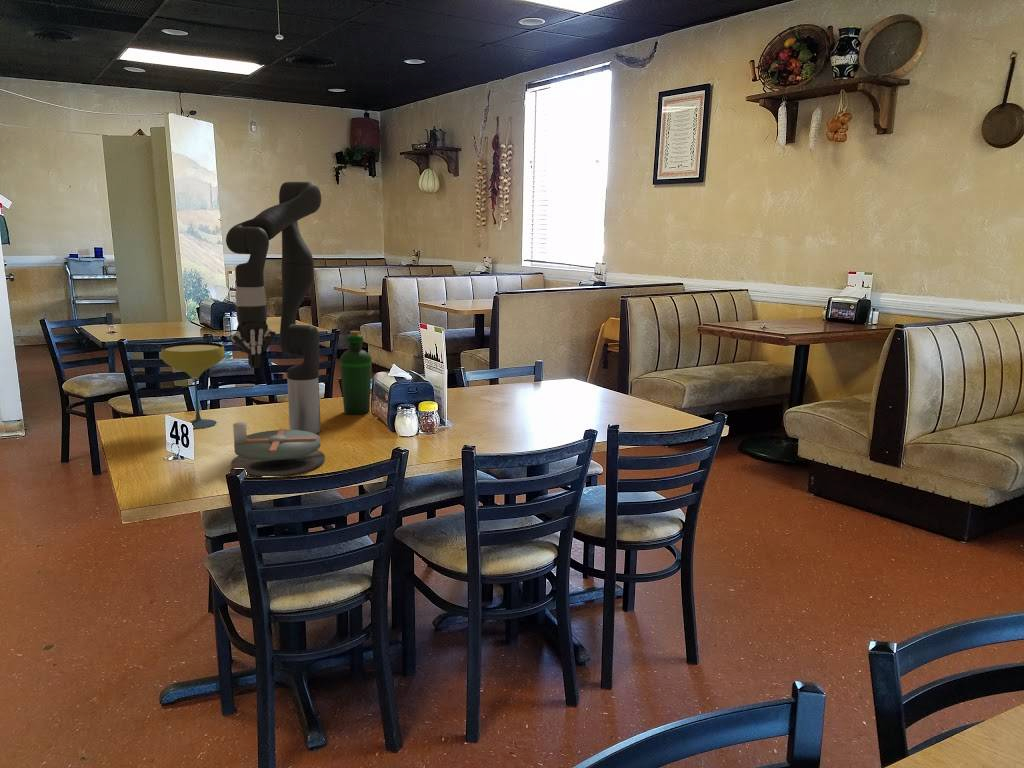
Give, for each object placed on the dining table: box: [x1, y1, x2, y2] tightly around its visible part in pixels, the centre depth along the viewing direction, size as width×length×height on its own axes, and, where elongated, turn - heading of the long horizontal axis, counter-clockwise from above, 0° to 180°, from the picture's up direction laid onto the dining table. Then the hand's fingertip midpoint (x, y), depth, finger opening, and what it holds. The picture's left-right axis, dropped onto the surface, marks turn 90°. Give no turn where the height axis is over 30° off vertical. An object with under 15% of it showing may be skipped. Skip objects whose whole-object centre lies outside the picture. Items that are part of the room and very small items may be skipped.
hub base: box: [230, 449, 326, 478], centre depth 197 cm, size 24×24×4 cm
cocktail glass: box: [160, 341, 225, 430], centre depth 230 cm, size 18×18×25 cm
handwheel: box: [232, 421, 321, 460], centre depth 196 cm, size 22×22×7 cm
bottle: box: [339, 330, 372, 416], centre depth 249 cm, size 11×11×28 cm
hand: (254, 367), depth 198 cm, fingers closed
